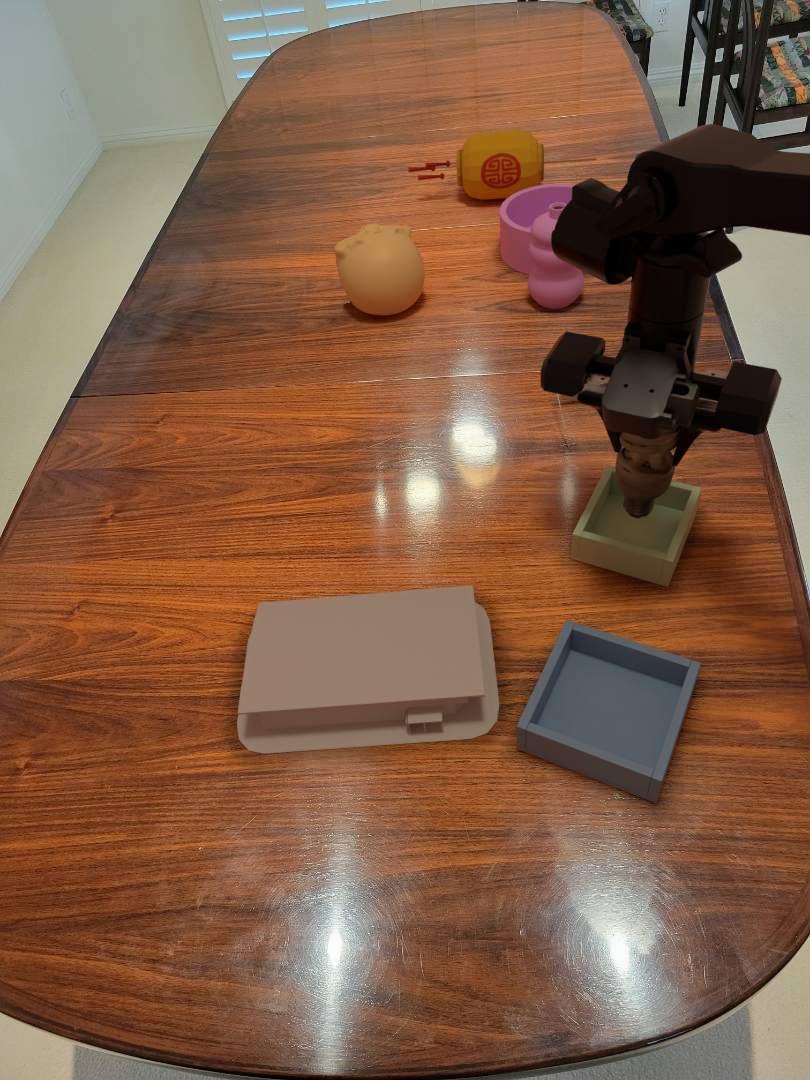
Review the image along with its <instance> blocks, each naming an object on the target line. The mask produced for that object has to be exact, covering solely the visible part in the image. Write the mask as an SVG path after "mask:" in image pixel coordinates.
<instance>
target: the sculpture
mask: <svg viewBox="0 0 810 1080" xmlns="http://www.w3.org/2000/svg"><path fill="white" fill-rule="evenodd" d="M412 231H413V229H412V227H411V226H409V225H403V224H402V225H400V224H396V225H395V224H390V225H385V224H381V225H380V224H379V223H375V222H374V223H368V224H366V225H364V226H363V227H360V229H359V230H358V232H357V233H355V234H354V235H351V236H349V237H347V238H344V239H341V240H340V241H338V242H337V243H336V244H335V246H334V248H333V251H334V254H335V263H336V267H337V274H338V278H339V281H340V283H341V285H342V288H343V291H344V292H345V294H346V295H345V296H347V298H348V300H349V301H350V302H351V305H353V306H354V307H355V308H356V309H357V310H359V311H361V312H363V313H366V314H369V315H374V316H390V315H396V314H400V313H402V312H405V311H406V310H407V309H409V308H410V307H412V306H413V305H414V304H415V303H416V302H417V301H418V300H419V298H420V296H421V295H422V291H423V288H424V286H425V279H426V270H425V264H424V260H423V256H422V254H421V252H420V250H419V248H418V247H417V245H416V244H415V242H414V240H413V238H412Z"/></svg>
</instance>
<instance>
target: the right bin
mask: <svg viewBox="0 0 810 1080" xmlns="http://www.w3.org/2000/svg"><path fill="white" fill-rule="evenodd" d="M615 468H616V466H613V465H610V464H607V465H606V466H605V469H604V470H603V472H602V475H601V476H600V478H599V480H598V482H597V484H596V486H595V488H594V490H593V492H592V493H591V496H590V498H589V500H588V502H587V504H586V506H585V507H584V510H583V512H582V513H581V515H580V518H579V520H578V521H577V524H576V526H575V528H574V529H573V532H572V534H571V550H570V559H571V560H574V561H577V562H581V563H585V564H588V565H591V566H595V567H598V568H601V569H604V570H607V571H608V570H609V571H611V572H615V573H618V574H622V575H625V576H629V577H632V578H635V579H639V580H642V581H646V582H650V583H653V584H656V585H658V586H659V585H660V586H662V587H666V588H669V586H670V583H671V580H672V578H673V576H674V573H675V570H676V568H677V566H678V562H679V560H680V557H681V555H682V553H683V549H684V547H685V546H686V545H685V544H686V542H687V539H688V537H689V534H690V531H691V529H692V526H693V524H694V521H695V519H696V516H697V513H698V509H699V506H700V505H699V504H700V500H701V494H702V490H703V488H702V487H700V486H696V485H692V484H688V483H685V482H680V481H676V480H672V481H671V484H670V486H669V488H668V490H667V491H666V492H665V493H664V494H662V495H661V496H659V497H657V498H655V500H654V505H653V506H654V507H653V510H652V511H651V513H649V514H648V515H647V516H645V517H640V518H634V517H632V516H630V515H629V513H628V512H627V511H626V510H625V508H624V507H623V503H624V492H623V491H622V490H621V489H620V488H619V486H618V484H617V481H616V477H615Z"/></svg>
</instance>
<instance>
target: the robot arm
mask: <svg viewBox="0 0 810 1080" xmlns="http://www.w3.org/2000/svg"><path fill="white" fill-rule="evenodd" d="M573 185H574V186H573V187H572V200H571V201H570V202H569V203H568V204H567V205H566V206H565V207H564V209H563V211H562V212H561V214H560V215H559V218H558V220H557V222H556V225H555V229H554V230H553V231H552V234H551V244H552V249H553V252H554V254H555V255H556V257H557V258H559V259H560V260H562V261H564V262H566V263H568V264H570V265H572V266H574V267H576V268H578V269H580V270H582V272H584V273H586V274H588V275H590V276H593V277H594V278H596V279H598V280H600V281H602V282H604V283H607V284H608V285H614V286H616V285H619V284H622V283H624V282H627V280H629V279H630V278H631V282H630V291H629V303H628V313H627V323H626V326H625V328H624V329H623V337H622V341H621V347H620V348H619V351H618V352H617V354H616V356H615V357H613V356H608V355H604V354H605V352H606V344H607V343H606V342H607V341H606V340H605V339H604V337H601V336H600V337H599V336H594V335H588V334H584V333H583V334H582V333H578V332H572V331H565V332H564V333H562V334H561V335H560V336H558V338H557V340H556V341H555V342H554V344H553V346H552V347H551V349H550V350H549V352H548V353H547V356H545V358H544V359H543V361H542V365H541V368H540V388H541V389H542V390H543V391H544V392H547V393H551V394H552V393H553V394H556V395H557V394H558V395H560V394H561V395H566V396H571V397H573V396H575V395H576V394H578V393H579V394H578V396H577V400H578V401H577V402H578V403H579V404H581V405H584V406H588V407H590V408H593V409H594V410H596V412H597V414H598V415H599V417H600V419H601V420H602V423H603V426H604V428H605V430H606V433H607V435H608V438H609V441H610V444H611V447H612V448H613V451H614V453H617V454H618V453H619V452H620V450H621V449H622V448H623V446H622V444H621V443H620V435H621V433H622V432H623V433H628V434H632V435H637V436H640V437H642V438H644V439H650V440H651V439H657V438H659V437H660V436H661V435H662V434H663V433H664V430H669V431H673V432H674V431H675V429H676V427H678V426H683V429H682V432H681V435H680V438H679V441H678V443H677V446H676V448H675V449H674V452H673V463H672V465H673V466H675V467H678V465H679V464H680V462H681V461H682V460H683V458H684V457H685V455H686V453H687V452H688V451H689V449H690V448H691V446H692V444H693V443H694V442H695V440H696V439H697V438H698V437H700V435H701V434H702V433H704V432H711V433H717V432H720V431H721V430H722V429H723V430H728V431H733V432H737V433H742V434H747V435H752V436H759V435H762V434H765V433H766V430H767V427H768V425H769V421H770V418H771V416H772V412H773V410H774V406H775V405H776V401H777V399H778V395H779V392H780V389H781V388H780V387H781V384H782V381H783V380H782V379H783V378H782V376H781V374H780V373H779V371H778V370H777V368H771V367H766V366H762V365H761V366H760V365H756V364H755V365H754V364H749V363H744V362H738V361H732V364H731V367H730V369H729V371H725V370H724V371H723V370H718V369H707V370H705V371H698V370H696V364H697V359H698V353H699V347H700V341H701V336H702V328H703V324H704V317H705V312H706V306H707V300H708V294H709V290H710V289H709V288H710V284H711V277H713V276H715V275H716V274H718V273H720V272H722V271H724V270H726V269H728V268H729V267H731V266H733V265H735V264H737V263H739V262H740V261H742V259H743V253H742V251H741V250H740V249H739V247H738V245H737V244H736V242H735V243H734V242H733V241H732V240H731V239H730V238H729V236H728V235H727V233H726V231H725V229H727V228H740V227H741V228H742V227H746V228H747V227H748V228H755V229H762V230H767V231H775V232H782V233H788V234H789V233H790V234H794V235H802V236H808V237H809V236H810V152H808V153H807V152H793V151H782V150H778V149H775V148H771V147H768V146H766V145H765V144H764V143H763V142H762V141H761V140H759V139H758V138H757V137H756V136H755V135H753V134H752V133H749V132H745V131H741V130H738V129H734V128H731V127H727V126H723V125H721V124H715V123H709V124H703V125H699V126H697V127H695V128H693V129H691V130H688V131H686V132H684V133H682V134H679V135H677V136H675V137H673V138H671V139H668V140H667V141H665V142H662V143H660V144H658V145H656V146H653V147H650V148H648V149H647V150H644V151H642V152H640V153H638V154H636V156H635V157H634V160H633V161H632V163H631V164H630V167H629V170H628V172H627V177H626V183H625V185H623V187H622V188H621V189H620V190H616V189H615V188H611V187H609V186H608V185H606V184H605V183H604V182H602V181H600V180H598V179H596V178H594V177H590V178H587V179H585V180H583V181H581V182H579V183H576V184H573ZM561 395H560V396H561Z"/></svg>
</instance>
